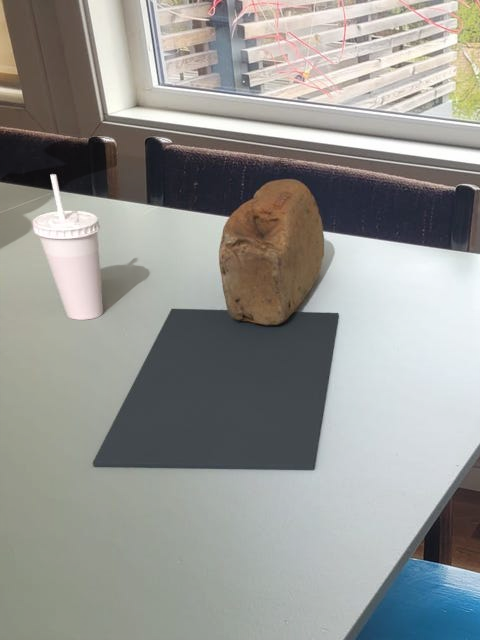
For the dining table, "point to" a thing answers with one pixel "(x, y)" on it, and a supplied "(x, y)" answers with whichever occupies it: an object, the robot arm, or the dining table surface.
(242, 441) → the mat
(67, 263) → the smoothie
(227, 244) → the block
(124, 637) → the dining table surface
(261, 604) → the dining table surface
